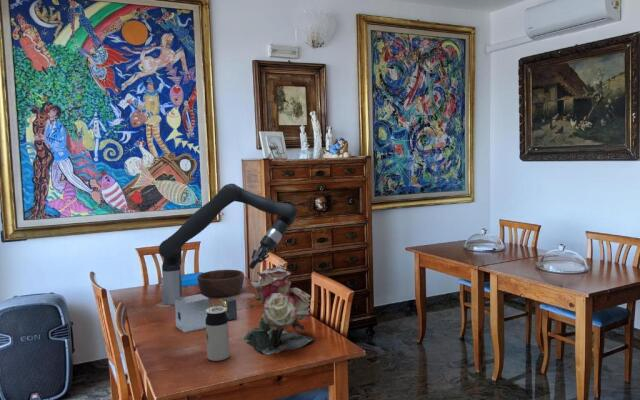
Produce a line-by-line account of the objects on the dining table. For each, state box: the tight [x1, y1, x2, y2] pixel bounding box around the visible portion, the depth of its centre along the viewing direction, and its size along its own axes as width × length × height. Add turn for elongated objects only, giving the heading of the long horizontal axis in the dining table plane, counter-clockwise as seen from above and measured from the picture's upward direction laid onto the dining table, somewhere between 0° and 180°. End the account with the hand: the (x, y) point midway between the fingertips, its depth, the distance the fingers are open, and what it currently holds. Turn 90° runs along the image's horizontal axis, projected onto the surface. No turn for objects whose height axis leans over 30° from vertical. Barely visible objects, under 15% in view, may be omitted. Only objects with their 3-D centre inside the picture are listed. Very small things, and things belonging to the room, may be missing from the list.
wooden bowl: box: [197, 269, 245, 298], centre depth 283 cm, size 25×25×10 cm
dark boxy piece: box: [210, 296, 238, 321], centre depth 232 cm, size 18×6×8 cm, turn 124°
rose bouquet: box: [242, 264, 315, 356], centre depth 205 cm, size 26×29×30 cm
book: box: [161, 271, 204, 288], centre depth 308 cm, size 17×4×25 cm
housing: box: [174, 293, 211, 334], centre depth 226 cm, size 12×10×12 cm
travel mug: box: [205, 306, 230, 362], centre depth 190 cm, size 8×8×18 cm
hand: (250, 268), depth 249 cm, fingers closed
